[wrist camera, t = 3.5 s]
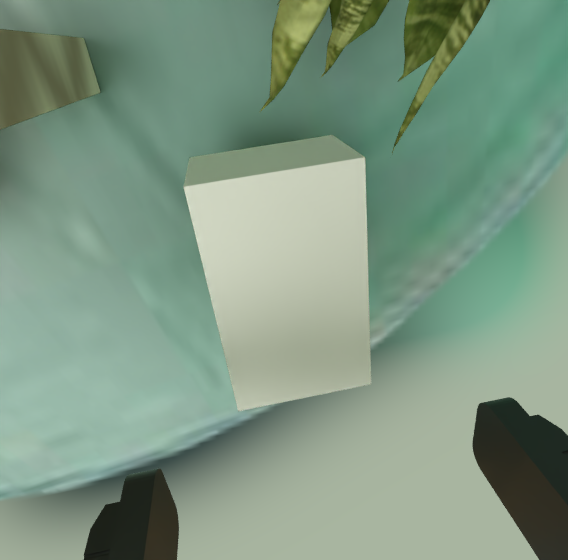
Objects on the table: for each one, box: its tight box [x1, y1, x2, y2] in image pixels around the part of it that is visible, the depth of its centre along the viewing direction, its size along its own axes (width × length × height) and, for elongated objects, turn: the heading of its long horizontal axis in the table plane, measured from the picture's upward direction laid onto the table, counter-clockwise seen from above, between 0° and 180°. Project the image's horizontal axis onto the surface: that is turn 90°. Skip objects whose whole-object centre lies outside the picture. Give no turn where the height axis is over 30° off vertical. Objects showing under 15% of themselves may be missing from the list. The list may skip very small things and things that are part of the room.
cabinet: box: [184, 135, 371, 411], centre depth 18 cm, size 9×5×9 cm, turn 7°
